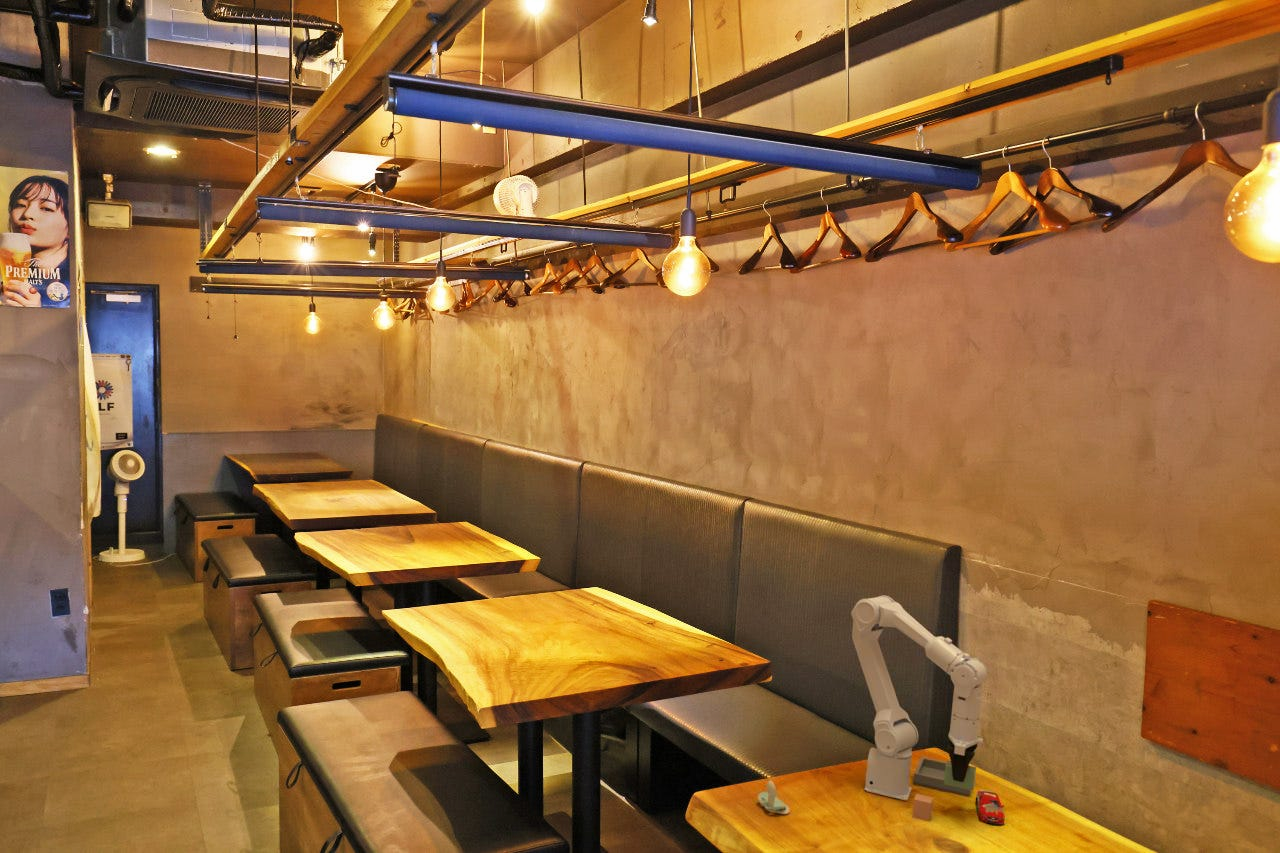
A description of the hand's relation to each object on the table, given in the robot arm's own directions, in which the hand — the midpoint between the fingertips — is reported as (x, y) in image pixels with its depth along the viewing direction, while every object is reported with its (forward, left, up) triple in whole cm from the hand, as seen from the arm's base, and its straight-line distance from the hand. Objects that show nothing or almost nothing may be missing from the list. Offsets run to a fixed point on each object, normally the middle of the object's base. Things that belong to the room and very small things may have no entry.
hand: (959, 777), depth 207 cm
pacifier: (-35, -20, -9) cm, 41 cm away
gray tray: (-4, +19, -8) cm, 21 cm away
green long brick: (0, 0, -2) cm, 2 cm away
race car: (+6, +6, -9) cm, 13 cm away
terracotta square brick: (-6, -5, -9) cm, 12 cm away
